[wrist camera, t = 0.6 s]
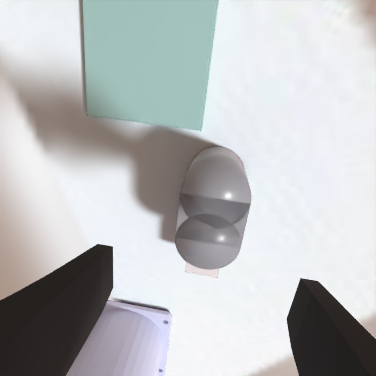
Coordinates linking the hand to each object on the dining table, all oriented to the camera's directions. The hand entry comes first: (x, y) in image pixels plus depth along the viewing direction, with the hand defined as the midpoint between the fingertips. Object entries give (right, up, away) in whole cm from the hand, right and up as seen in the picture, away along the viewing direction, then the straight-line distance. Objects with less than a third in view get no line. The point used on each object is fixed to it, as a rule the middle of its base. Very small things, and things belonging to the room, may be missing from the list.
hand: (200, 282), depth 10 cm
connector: (+1, +3, +9) cm, 10 cm away
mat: (-3, +12, +6) cm, 14 cm away
